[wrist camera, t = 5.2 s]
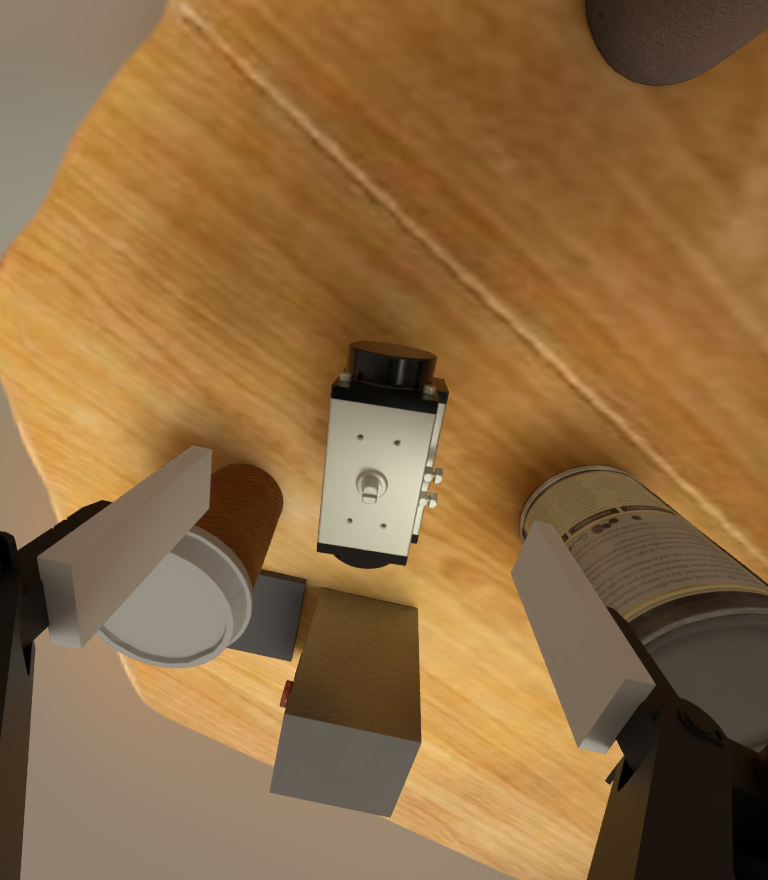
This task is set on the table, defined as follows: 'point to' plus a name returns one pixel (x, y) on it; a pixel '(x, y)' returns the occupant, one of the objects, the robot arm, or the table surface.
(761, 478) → the table surface
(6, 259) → the table surface
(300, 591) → the pad
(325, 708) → the block
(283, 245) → the table surface
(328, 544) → the pneumatic valve
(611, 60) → the pillar candle
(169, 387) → the table surface
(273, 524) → the disposable coffee cup
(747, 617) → the coffee can
